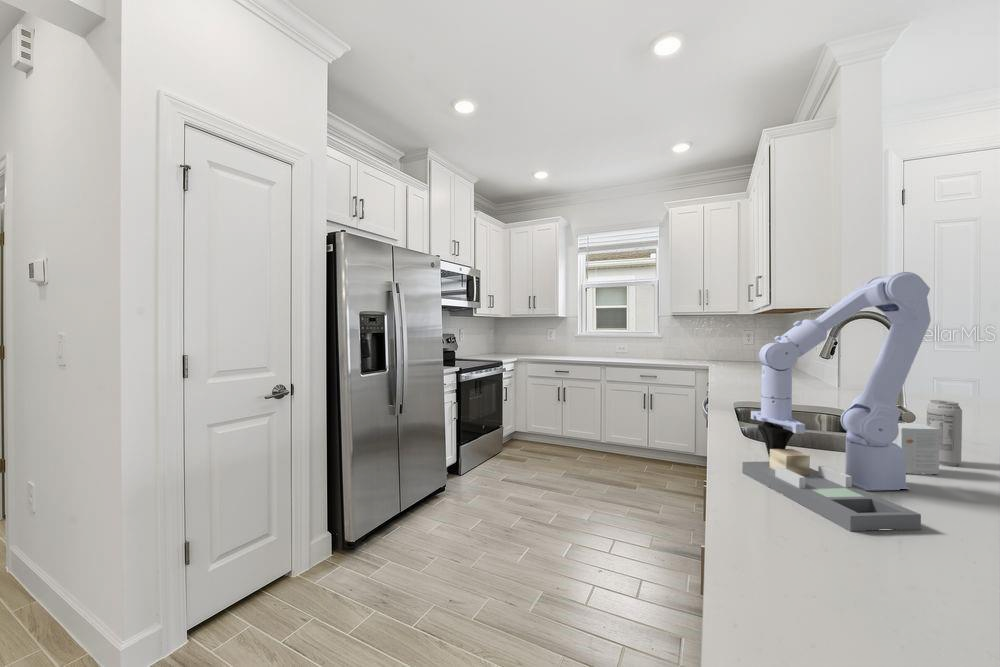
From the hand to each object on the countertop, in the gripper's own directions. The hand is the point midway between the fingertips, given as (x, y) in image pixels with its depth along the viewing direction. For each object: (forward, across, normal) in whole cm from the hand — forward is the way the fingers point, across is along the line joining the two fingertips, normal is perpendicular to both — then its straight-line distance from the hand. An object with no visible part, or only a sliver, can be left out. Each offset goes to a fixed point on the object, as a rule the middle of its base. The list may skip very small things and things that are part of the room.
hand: (775, 458), depth 95 cm
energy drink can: (+4, -8, +48) cm, 49 cm away
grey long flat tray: (+4, +12, 0) cm, 12 cm away
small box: (+4, -2, +34) cm, 34 cm away
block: (+1, +4, 0) cm, 4 cm away
